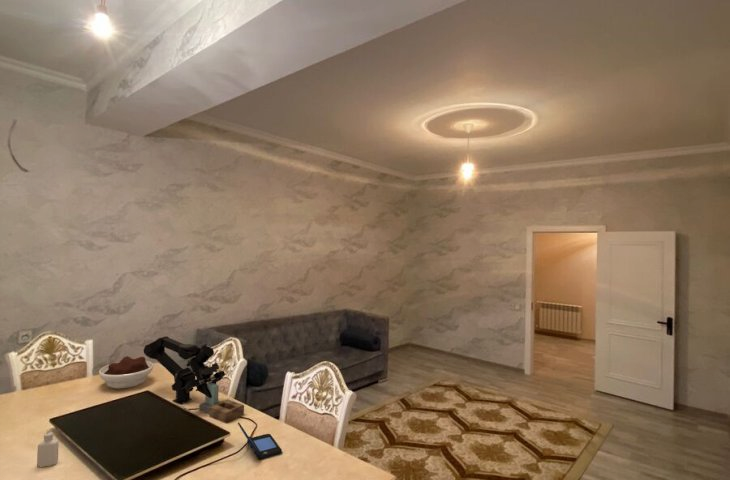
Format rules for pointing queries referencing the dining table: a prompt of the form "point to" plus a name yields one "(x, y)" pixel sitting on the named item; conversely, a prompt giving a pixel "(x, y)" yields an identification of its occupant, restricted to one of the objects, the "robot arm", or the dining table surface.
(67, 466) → the dining table surface
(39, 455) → the eye dropper bottle
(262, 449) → the handheld game console
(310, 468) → the dining table surface
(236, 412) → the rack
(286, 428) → the dining table surface
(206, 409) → the plate
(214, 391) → the block
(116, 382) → the bowl of chocolate mousse
